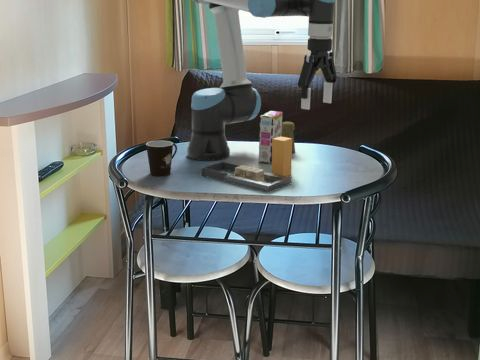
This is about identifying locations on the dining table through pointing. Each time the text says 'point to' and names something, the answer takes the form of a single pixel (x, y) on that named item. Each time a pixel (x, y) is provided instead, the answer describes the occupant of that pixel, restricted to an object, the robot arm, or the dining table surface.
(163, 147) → the coffee mug
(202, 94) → the robot arm
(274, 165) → the orange rectangular block
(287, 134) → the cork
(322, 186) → the dining table surface
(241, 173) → the beige cube
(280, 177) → the grey flat rectangular tray
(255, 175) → the tan wooden cube
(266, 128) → the candy bar box
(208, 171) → the frame
